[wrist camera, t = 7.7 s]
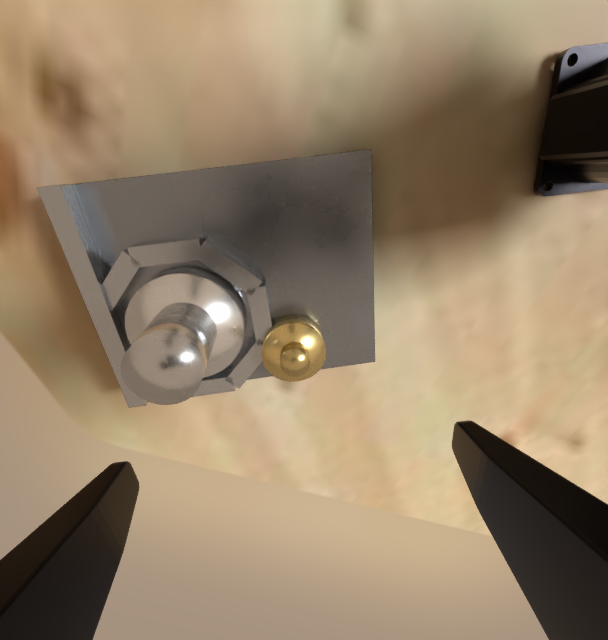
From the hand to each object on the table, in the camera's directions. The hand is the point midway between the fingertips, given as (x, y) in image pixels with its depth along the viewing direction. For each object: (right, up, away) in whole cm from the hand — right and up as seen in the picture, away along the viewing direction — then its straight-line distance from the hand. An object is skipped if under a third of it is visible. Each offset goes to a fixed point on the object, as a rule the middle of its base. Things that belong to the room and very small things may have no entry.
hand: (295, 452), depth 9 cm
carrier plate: (-3, +6, +10) cm, 12 cm away
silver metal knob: (-6, +4, +9) cm, 12 cm away
